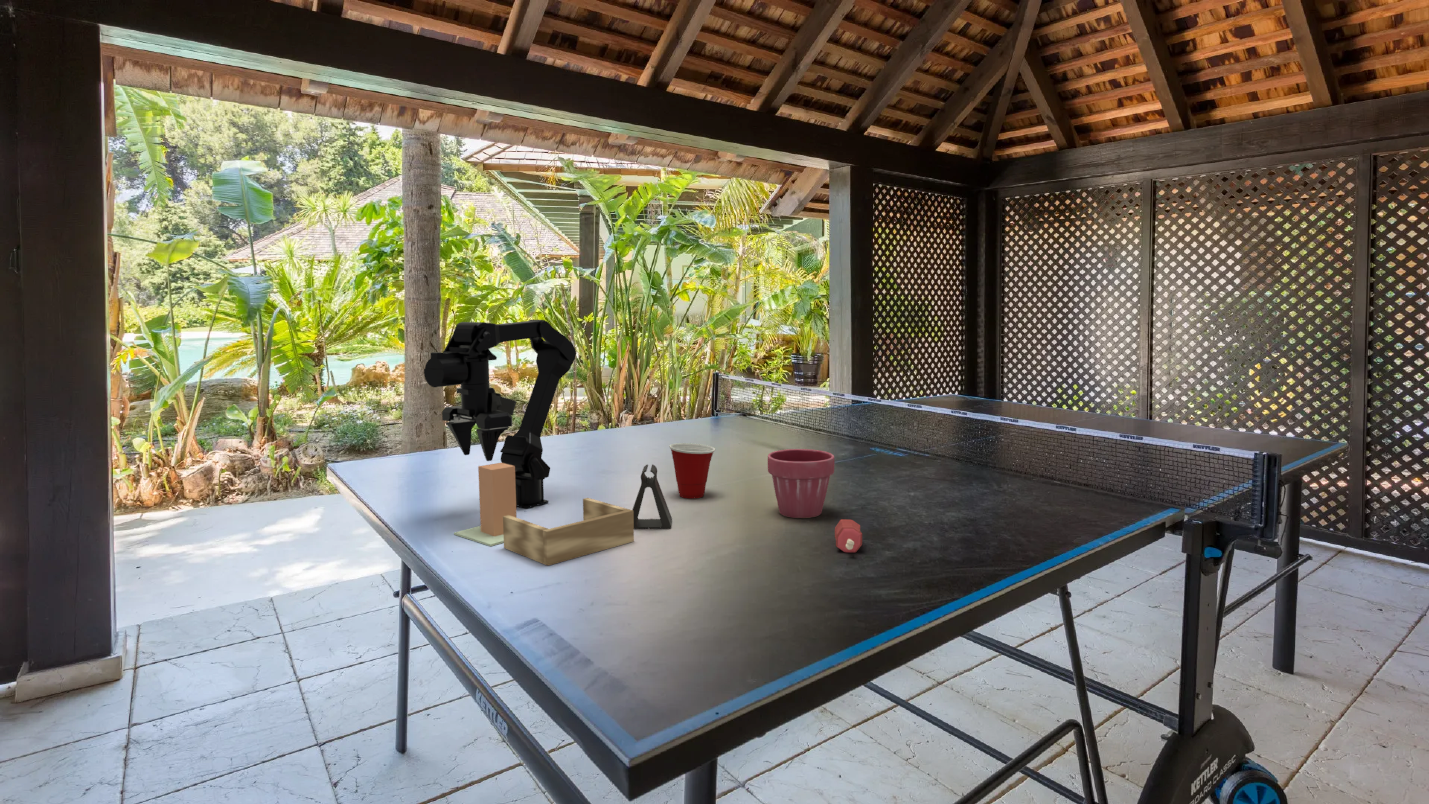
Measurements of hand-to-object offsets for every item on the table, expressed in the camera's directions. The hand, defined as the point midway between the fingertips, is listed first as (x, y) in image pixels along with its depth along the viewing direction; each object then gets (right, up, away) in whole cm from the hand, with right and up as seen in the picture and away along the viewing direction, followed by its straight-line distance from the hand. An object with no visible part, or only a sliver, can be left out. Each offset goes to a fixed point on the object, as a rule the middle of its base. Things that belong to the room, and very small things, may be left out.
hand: (477, 457), depth 160 cm
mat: (+7, -14, -9) cm, 18 cm away
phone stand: (+36, -14, -3) cm, 39 cm away
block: (+7, -14, -9) cm, 18 cm away
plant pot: (+68, -13, +6) cm, 69 cm away
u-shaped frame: (+22, -15, -16) cm, 31 cm away
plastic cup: (+44, -11, +21) cm, 50 cm away
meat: (+74, -16, -18) cm, 78 cm away
